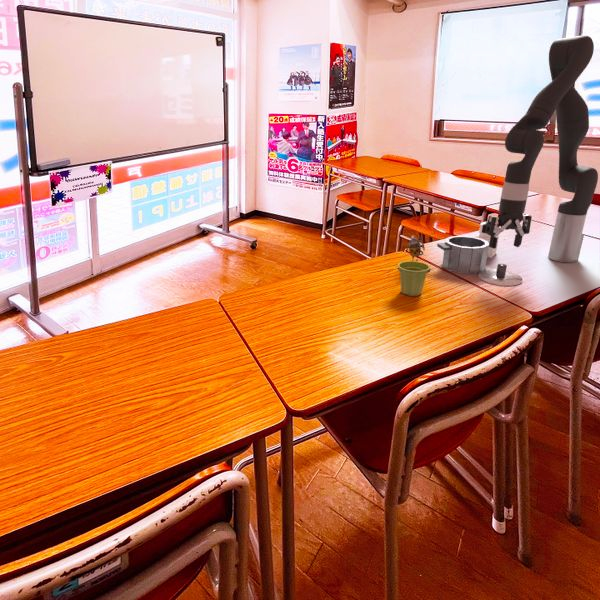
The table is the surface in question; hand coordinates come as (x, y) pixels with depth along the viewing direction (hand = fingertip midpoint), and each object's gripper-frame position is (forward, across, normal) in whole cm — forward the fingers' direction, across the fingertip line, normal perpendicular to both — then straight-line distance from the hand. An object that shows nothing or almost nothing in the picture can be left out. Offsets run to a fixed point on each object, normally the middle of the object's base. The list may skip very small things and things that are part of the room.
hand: (504, 247), depth 163 cm
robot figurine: (+11, +24, -14) cm, 30 cm away
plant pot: (+11, +34, +5) cm, 36 cm away
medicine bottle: (+11, -9, -24) cm, 28 cm away
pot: (+11, +6, -13) cm, 18 cm away
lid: (+11, 0, 0) cm, 11 cm away
